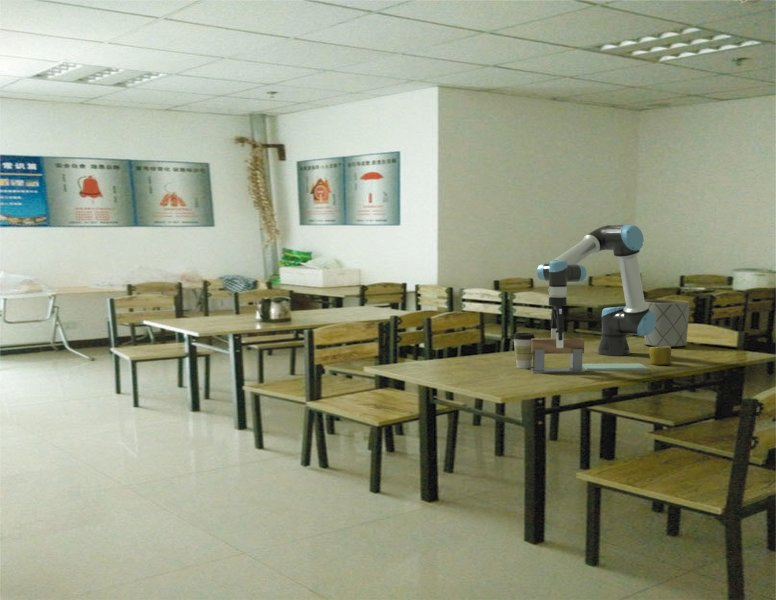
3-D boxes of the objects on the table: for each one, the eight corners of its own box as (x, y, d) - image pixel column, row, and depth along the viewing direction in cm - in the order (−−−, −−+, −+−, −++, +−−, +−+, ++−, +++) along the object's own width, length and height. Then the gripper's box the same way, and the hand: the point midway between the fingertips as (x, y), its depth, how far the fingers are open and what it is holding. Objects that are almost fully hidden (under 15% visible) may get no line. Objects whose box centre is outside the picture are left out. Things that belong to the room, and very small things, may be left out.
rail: (531, 352, 328) (531, 338, 327) (582, 352, 327) (582, 338, 326) (532, 353, 324) (532, 339, 323) (584, 353, 323) (584, 339, 322)
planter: (665, 350, 380) (666, 304, 378) (633, 344, 401) (633, 300, 399) (698, 347, 390) (699, 301, 388) (665, 341, 410) (666, 298, 408)
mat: (581, 365, 338) (581, 363, 338) (640, 365, 337) (640, 363, 337) (587, 370, 326) (587, 368, 326) (648, 370, 325) (648, 368, 325)
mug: (677, 362, 333) (669, 341, 335) (654, 369, 335) (646, 347, 337) (674, 363, 345) (667, 342, 346) (651, 369, 347) (644, 349, 349)
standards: (530, 369, 330) (530, 347, 330) (581, 369, 329) (581, 346, 329) (532, 373, 322) (533, 349, 322) (584, 372, 321) (585, 349, 321)
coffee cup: (523, 370, 330) (523, 336, 328) (508, 366, 338) (508, 333, 337) (539, 367, 335) (539, 334, 334) (524, 364, 343) (524, 332, 342)
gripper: (544, 294, 336) (543, 341, 337) (553, 298, 311) (553, 349, 313) (561, 294, 335) (560, 341, 337) (572, 298, 311) (571, 349, 312)
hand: (557, 345), depth 325 cm, fingers open, 13 cm apart
